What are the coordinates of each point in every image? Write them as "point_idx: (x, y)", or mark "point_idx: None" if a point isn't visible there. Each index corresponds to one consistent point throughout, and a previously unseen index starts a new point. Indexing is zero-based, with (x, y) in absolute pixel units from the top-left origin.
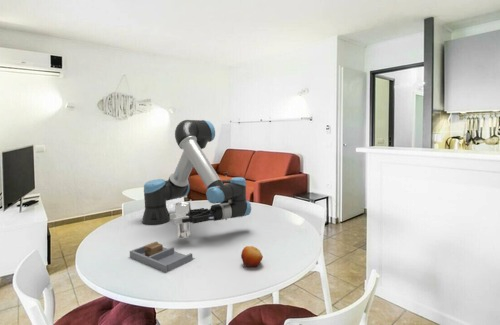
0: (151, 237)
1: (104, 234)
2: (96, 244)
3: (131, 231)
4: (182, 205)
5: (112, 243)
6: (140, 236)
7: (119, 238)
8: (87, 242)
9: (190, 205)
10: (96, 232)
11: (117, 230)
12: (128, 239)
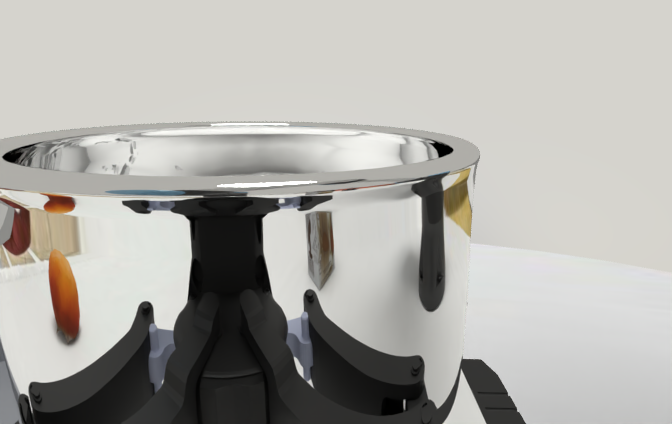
0: (553, 413)
1: (591, 275)
2: (474, 258)
3: (666, 344)
4: (110, 127)
5: (474, 282)
6: (572, 365)
7: (537, 300)
8: (499, 248)
9: (36, 300)
10: (614, 263)
11: (664, 305)
12: (520, 320)
